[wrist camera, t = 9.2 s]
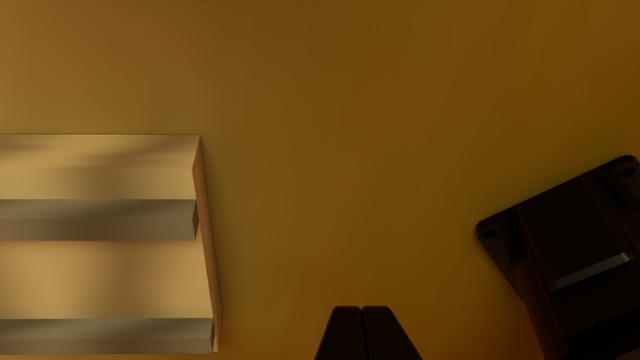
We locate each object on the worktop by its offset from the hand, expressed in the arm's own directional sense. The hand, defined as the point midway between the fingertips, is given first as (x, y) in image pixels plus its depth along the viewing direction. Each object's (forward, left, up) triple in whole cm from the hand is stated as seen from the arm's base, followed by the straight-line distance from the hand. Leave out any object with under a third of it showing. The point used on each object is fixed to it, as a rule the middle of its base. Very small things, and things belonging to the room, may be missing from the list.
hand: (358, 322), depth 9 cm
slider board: (0, +17, -12) cm, 21 cm away
